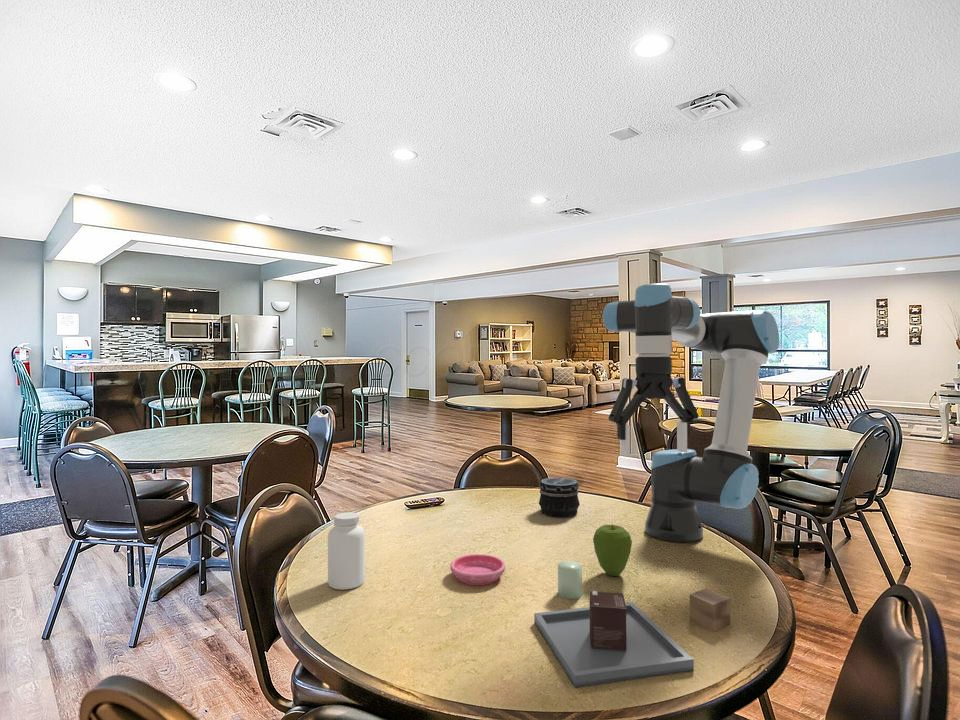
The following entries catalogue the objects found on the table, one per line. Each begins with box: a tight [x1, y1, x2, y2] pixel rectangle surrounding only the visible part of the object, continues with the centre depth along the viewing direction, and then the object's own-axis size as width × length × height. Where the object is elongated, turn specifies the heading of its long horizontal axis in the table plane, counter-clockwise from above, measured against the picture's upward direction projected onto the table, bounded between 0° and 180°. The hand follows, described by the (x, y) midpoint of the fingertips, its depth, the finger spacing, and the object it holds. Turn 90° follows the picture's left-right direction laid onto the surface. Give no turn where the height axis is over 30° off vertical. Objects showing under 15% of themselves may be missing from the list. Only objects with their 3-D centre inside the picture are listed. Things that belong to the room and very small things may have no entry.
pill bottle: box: [327, 511, 366, 590], centre depth 119 cm, size 8×8×15 cm
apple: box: [592, 523, 633, 577], centre depth 122 cm, size 9×8×12 cm
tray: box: [533, 601, 695, 688], centre depth 93 cm, size 20×20×2 cm
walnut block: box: [689, 587, 731, 633], centre depth 101 cm, size 5×5×5 cm
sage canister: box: [557, 560, 583, 600], centre depth 113 cm, size 5×5×6 cm
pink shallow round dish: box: [449, 553, 506, 586], centre depth 122 cm, size 12×12×3 cm
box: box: [588, 591, 627, 651], centre depth 93 cm, size 6×6×7 cm
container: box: [538, 477, 581, 518], centre depth 170 cm, size 13×13×10 cm
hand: (654, 453), depth 118 cm, fingers open, 13 cm apart
